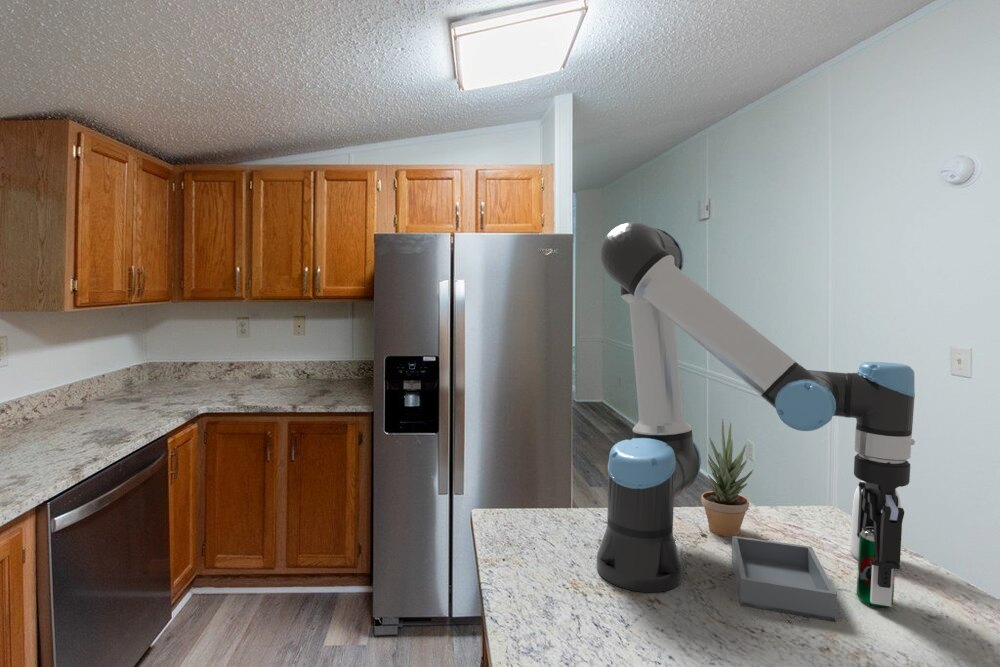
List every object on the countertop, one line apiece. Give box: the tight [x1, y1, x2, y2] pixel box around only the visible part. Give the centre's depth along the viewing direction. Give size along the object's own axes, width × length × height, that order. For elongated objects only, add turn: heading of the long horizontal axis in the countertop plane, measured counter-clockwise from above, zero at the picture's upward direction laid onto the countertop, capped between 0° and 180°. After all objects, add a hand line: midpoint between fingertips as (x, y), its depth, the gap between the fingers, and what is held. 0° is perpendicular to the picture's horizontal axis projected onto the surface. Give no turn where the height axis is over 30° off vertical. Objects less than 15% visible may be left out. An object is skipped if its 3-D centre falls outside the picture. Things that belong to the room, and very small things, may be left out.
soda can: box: [856, 526, 896, 610], centre depth 90 cm, size 5×5×12 cm
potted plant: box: [700, 418, 754, 537], centre depth 118 cm, size 10×10×25 cm
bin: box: [730, 535, 838, 622], centre depth 95 cm, size 14×18×4 cm
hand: (874, 594), depth 90 cm, fingers closed on soda can, 5 cm apart
